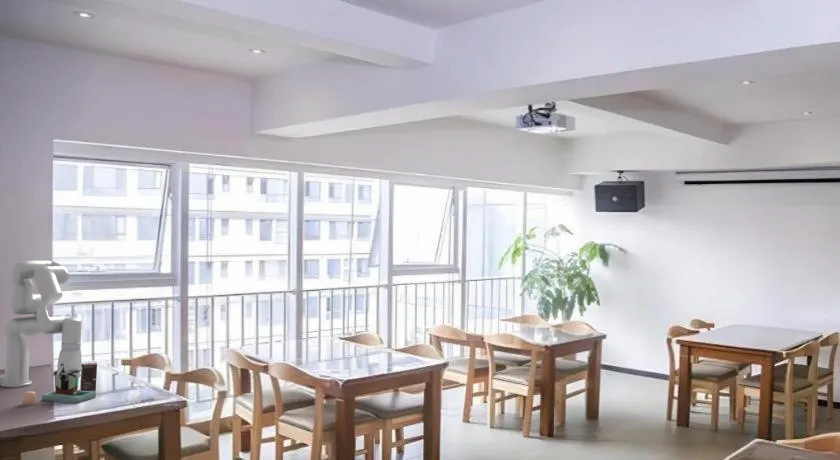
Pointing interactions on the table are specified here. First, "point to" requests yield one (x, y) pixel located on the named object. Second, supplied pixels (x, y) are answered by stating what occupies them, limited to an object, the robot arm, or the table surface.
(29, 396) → the beige rounded cube
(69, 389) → the food container
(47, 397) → the tray
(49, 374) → the table surface
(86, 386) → the box
